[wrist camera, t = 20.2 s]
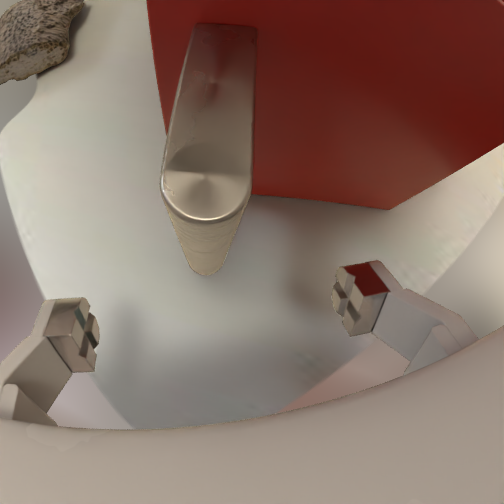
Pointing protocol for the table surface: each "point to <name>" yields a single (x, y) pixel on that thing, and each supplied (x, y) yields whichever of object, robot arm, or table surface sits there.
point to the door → (318, 103)
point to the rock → (34, 36)
